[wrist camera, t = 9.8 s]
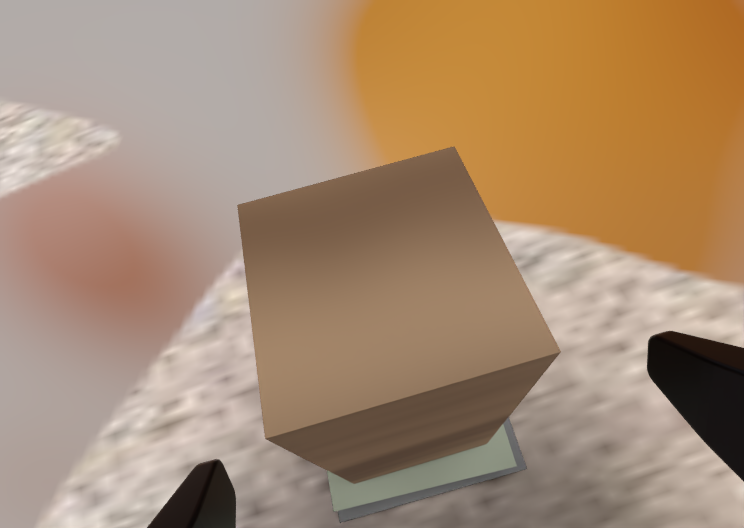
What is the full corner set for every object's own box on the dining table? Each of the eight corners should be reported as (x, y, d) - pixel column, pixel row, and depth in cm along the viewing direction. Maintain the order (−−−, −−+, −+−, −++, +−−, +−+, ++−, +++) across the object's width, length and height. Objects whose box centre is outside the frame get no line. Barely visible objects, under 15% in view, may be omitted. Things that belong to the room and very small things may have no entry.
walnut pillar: (486, 443, 16) (561, 351, 7) (353, 483, 15) (265, 438, 7) (440, 321, 18) (454, 146, 10) (326, 354, 18) (237, 204, 9)
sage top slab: (503, 464, 18) (516, 466, 16) (339, 505, 18) (333, 511, 16) (454, 308, 21) (461, 294, 19) (311, 340, 20) (303, 329, 18)
